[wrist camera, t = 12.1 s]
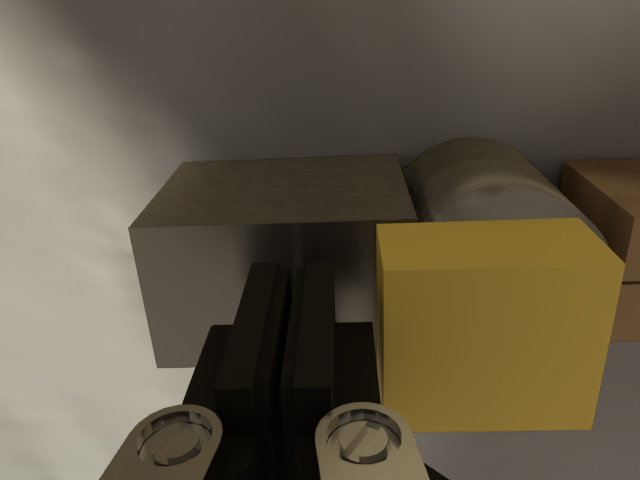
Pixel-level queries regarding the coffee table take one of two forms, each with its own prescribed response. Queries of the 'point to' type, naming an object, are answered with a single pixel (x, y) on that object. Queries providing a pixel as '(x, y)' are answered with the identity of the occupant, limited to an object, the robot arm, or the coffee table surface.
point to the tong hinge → (310, 226)
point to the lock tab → (494, 323)
